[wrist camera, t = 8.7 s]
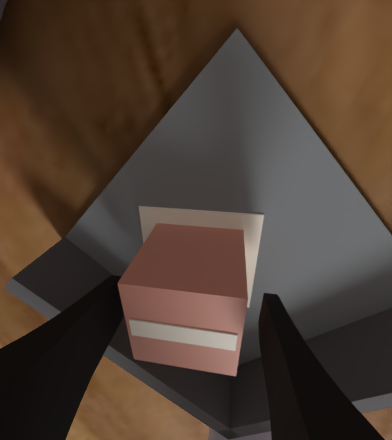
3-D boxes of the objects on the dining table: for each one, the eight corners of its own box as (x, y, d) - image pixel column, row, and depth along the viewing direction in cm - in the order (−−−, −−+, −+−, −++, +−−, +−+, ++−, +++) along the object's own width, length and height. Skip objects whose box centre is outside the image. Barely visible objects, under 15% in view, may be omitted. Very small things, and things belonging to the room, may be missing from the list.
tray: (434, 296, 13) (522, 381, 9) (229, 372, 20) (228, 439, 16) (237, 32, 9) (238, -27, 5) (63, 241, 16) (4, 288, 12)
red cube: (243, 229, 12) (248, 300, 8) (235, 295, 15) (236, 378, 10) (157, 223, 13) (116, 284, 9) (162, 286, 15) (133, 360, 11)
